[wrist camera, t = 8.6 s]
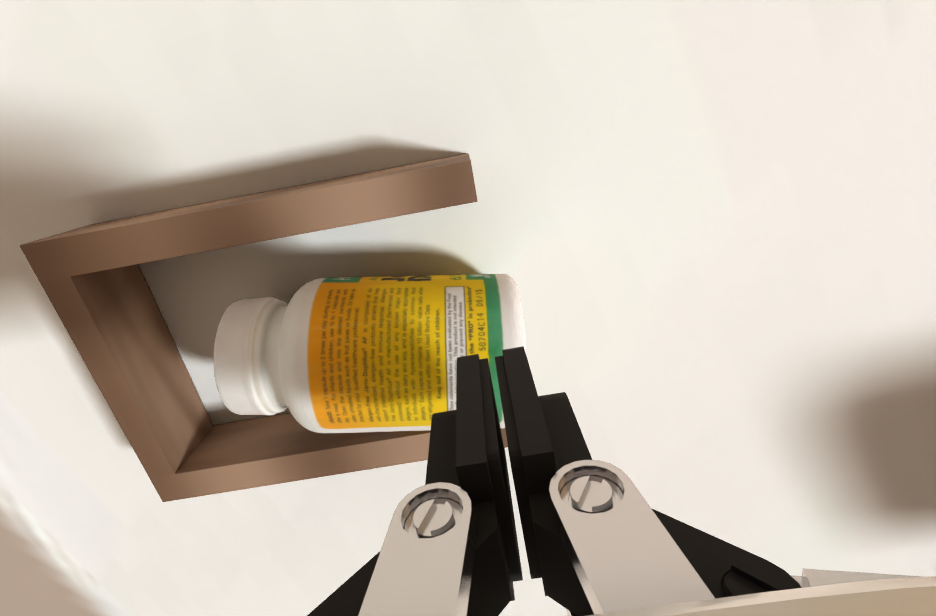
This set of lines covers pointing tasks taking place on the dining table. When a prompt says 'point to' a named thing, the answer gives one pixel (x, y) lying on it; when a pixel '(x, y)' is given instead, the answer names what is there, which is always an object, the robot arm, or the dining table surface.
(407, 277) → the supplement bottle
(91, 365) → the u rest
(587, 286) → the dining table surface
